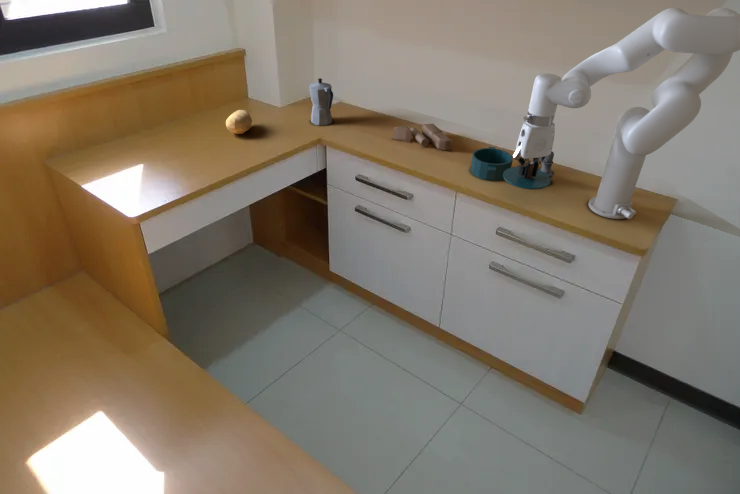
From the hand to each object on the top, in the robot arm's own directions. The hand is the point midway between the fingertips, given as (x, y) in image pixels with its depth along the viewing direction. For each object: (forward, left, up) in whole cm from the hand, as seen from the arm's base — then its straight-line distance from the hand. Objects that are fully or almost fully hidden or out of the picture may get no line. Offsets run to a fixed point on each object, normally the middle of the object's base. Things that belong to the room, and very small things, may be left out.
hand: (527, 175), depth 159 cm
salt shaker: (+8, -13, -8) cm, 18 cm away
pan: (+20, 0, -8) cm, 22 cm away
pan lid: (0, 0, -1) cm, 1 cm away
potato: (+82, +78, -8) cm, 113 cm away
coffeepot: (+82, +44, -8) cm, 93 cm away
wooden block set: (+49, +14, -8) cm, 51 cm away
